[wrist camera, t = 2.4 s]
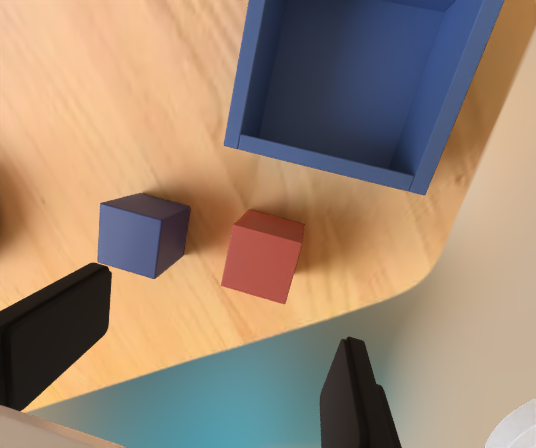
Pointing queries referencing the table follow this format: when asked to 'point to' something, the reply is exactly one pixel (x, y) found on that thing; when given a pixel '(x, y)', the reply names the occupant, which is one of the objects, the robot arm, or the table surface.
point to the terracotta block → (263, 255)
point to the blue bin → (357, 83)
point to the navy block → (142, 234)
